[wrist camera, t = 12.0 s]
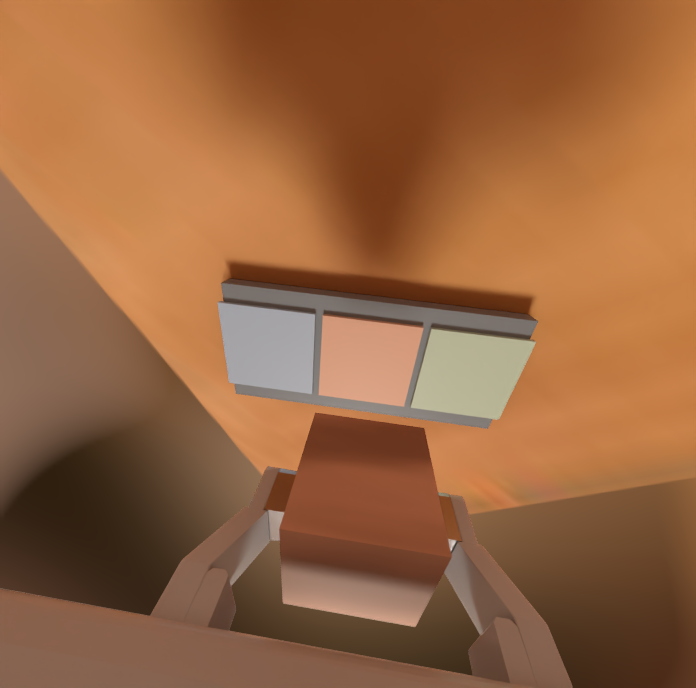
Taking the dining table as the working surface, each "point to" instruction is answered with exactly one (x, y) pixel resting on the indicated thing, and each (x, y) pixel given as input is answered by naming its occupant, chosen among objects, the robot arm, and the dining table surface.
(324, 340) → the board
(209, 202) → the dining table surface
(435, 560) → the terracotta cube
